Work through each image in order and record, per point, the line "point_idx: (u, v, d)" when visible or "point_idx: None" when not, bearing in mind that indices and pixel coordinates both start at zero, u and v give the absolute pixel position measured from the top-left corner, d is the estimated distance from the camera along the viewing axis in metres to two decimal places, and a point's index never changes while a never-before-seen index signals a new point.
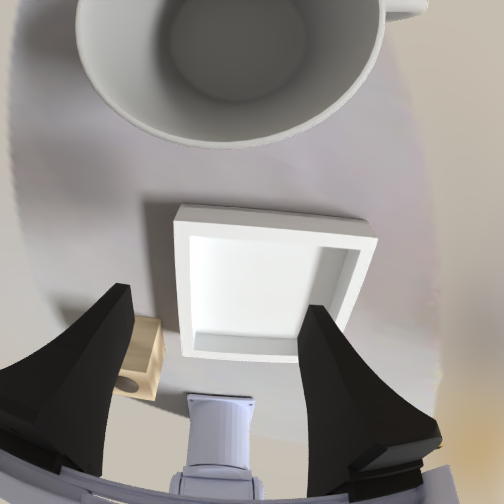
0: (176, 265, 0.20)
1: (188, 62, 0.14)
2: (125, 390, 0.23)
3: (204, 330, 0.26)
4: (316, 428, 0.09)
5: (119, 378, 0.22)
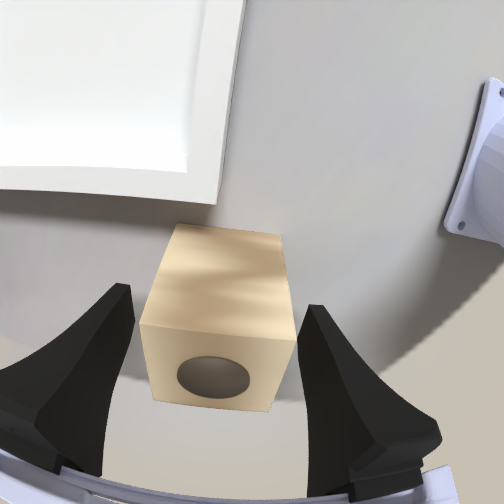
0: None
1: None
2: (239, 386, 0.10)
3: (187, 135, 0.11)
4: (316, 428, 0.09)
5: (183, 381, 0.10)
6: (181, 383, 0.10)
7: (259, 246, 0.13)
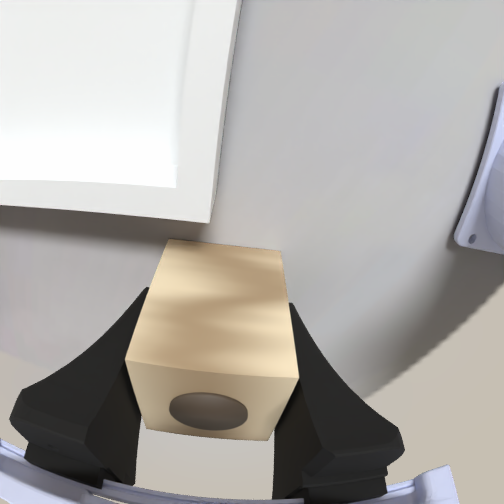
0: None
1: None
2: (236, 419, 0.09)
3: (178, 144, 0.10)
4: (280, 429, 0.09)
5: (176, 415, 0.08)
6: (174, 416, 0.09)
7: (258, 266, 0.11)
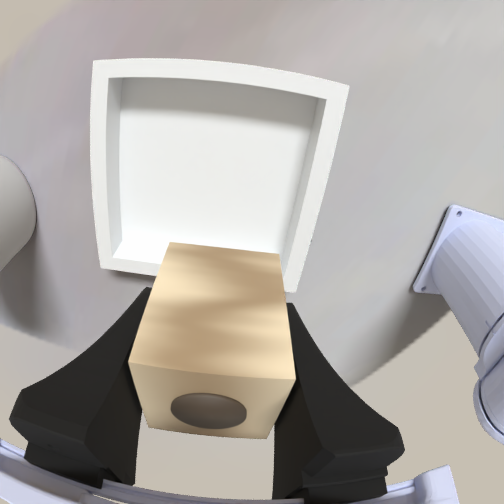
0: (146, 273, 0.19)
1: None
2: (235, 419, 0.09)
3: (277, 250, 0.21)
4: (280, 429, 0.09)
5: (177, 414, 0.09)
6: (175, 415, 0.09)
7: (256, 268, 0.12)
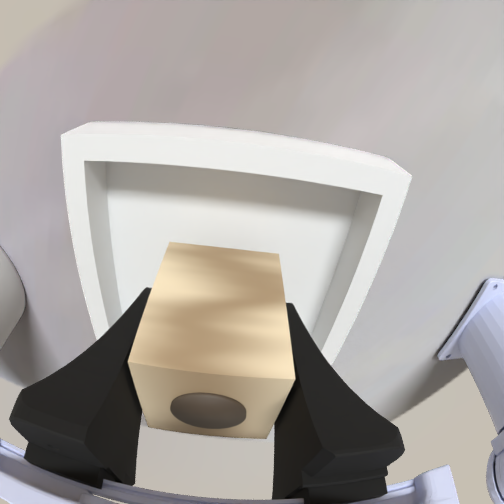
0: None
1: None
2: (235, 418, 0.09)
3: None
4: (280, 429, 0.09)
5: (177, 414, 0.09)
6: (175, 415, 0.09)
7: (256, 268, 0.12)
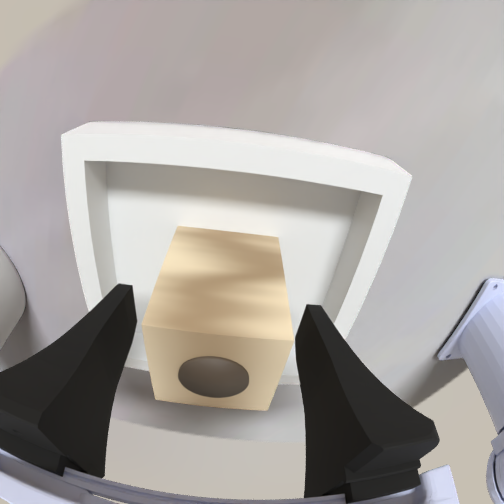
0: None
1: None
2: (238, 385, 0.10)
3: None
4: (313, 428, 0.09)
5: (184, 381, 0.10)
6: (182, 382, 0.10)
7: (258, 249, 0.13)
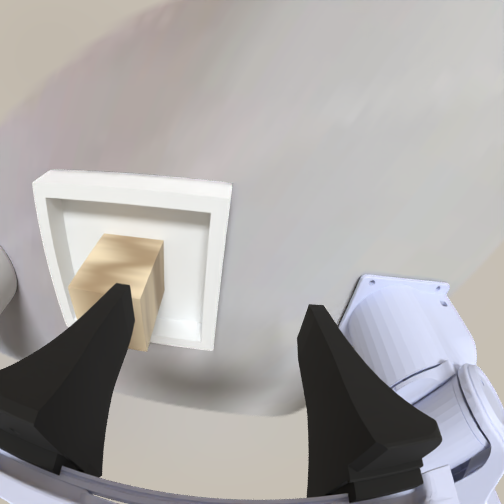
0: None
1: None
2: None
3: (199, 316, 0.24)
4: (316, 428, 0.09)
5: None
6: None
7: (145, 248, 0.19)
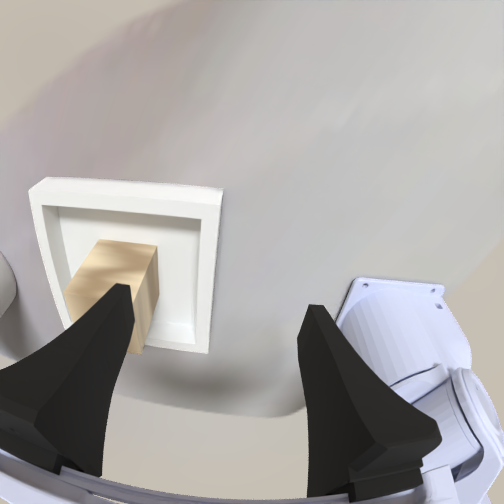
0: None
1: None
2: None
3: (193, 319, 0.25)
4: (316, 428, 0.09)
5: None
6: None
7: (139, 253, 0.20)
